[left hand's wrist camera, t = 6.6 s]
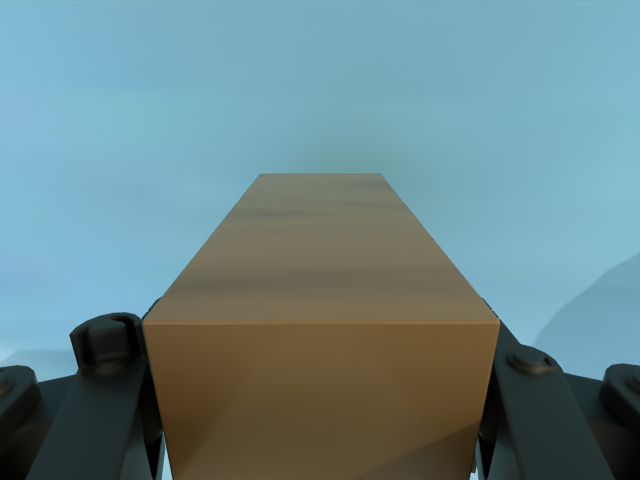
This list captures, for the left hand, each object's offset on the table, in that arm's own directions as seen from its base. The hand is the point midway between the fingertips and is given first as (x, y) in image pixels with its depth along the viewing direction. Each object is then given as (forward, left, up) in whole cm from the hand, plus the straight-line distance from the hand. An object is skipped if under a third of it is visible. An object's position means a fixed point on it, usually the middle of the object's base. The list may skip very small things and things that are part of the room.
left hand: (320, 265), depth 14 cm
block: (0, 0, -3) cm, 3 cm away
